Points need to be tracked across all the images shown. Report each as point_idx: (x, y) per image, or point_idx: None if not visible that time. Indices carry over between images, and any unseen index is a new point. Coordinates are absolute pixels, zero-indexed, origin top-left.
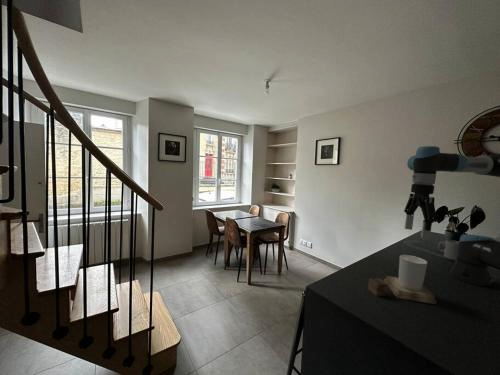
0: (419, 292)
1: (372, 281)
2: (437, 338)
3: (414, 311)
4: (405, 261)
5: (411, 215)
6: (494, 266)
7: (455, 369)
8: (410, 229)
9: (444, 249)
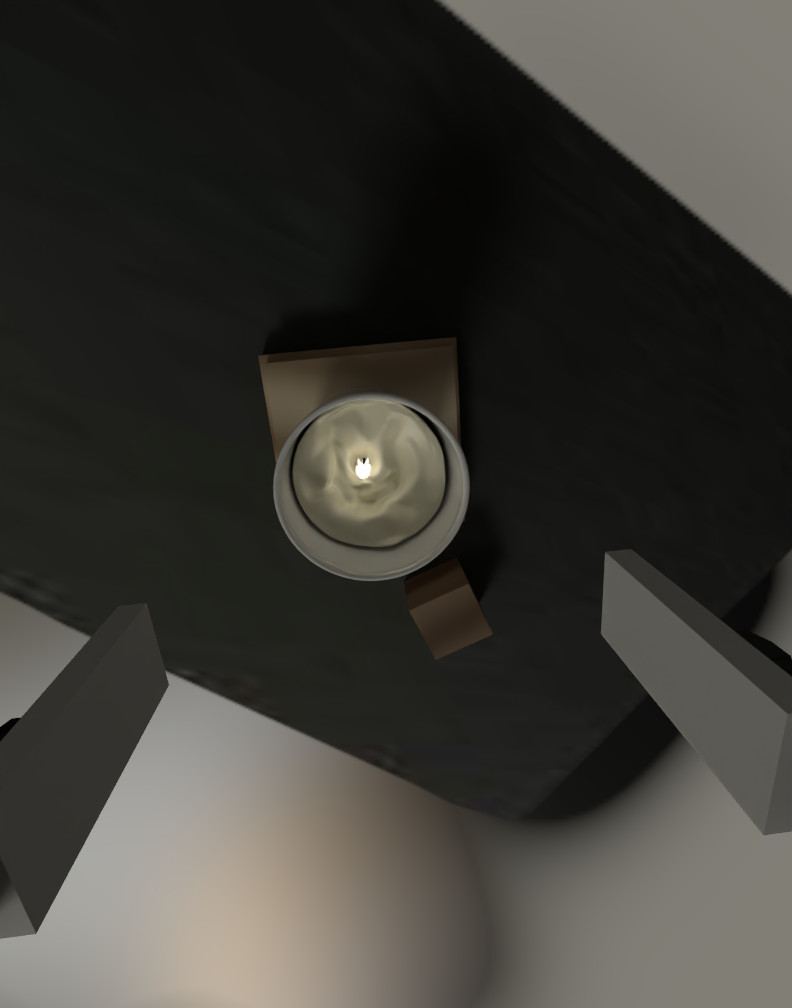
0: (440, 418)
1: (458, 647)
2: (719, 456)
3: (558, 474)
4: (427, 555)
5: (2, 859)
6: None
7: None
8: (151, 623)
9: None
